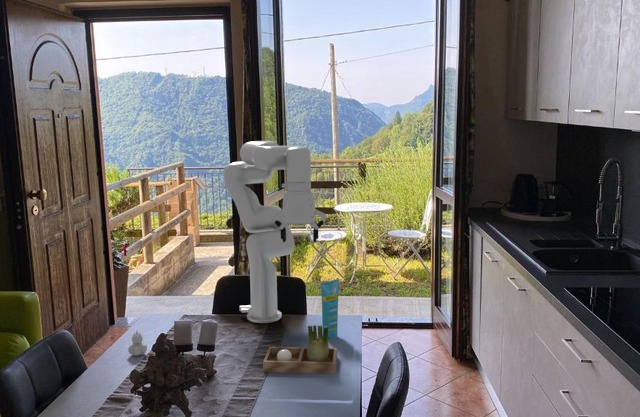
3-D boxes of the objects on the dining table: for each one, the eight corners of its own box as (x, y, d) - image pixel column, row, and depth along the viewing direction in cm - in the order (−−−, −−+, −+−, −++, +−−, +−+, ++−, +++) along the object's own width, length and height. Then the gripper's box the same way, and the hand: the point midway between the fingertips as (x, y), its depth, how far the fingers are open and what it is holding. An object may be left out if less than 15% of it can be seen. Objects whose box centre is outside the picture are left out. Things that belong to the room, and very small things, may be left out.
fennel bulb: (330, 364, 161) (330, 324, 159) (320, 370, 157) (320, 330, 155) (314, 359, 164) (313, 320, 163) (304, 365, 160) (303, 325, 159)
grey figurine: (148, 350, 174) (146, 326, 173) (146, 359, 167) (144, 334, 166) (130, 352, 173) (128, 327, 172) (127, 360, 166) (125, 335, 165)
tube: (327, 342, 179) (326, 284, 176) (317, 337, 182) (316, 281, 179) (343, 335, 184) (343, 279, 181) (332, 331, 187) (332, 276, 184)
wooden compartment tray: (263, 373, 157) (263, 361, 156) (269, 357, 167) (269, 346, 167) (335, 375, 155) (335, 363, 155) (337, 359, 166) (337, 348, 165)
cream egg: (275, 367, 159) (275, 352, 159) (278, 360, 164) (277, 346, 163) (291, 367, 159) (290, 353, 158) (293, 361, 163) (292, 346, 163)
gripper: (269, 188, 168) (270, 243, 171) (325, 188, 167) (326, 244, 169) (273, 185, 176) (274, 238, 178) (327, 185, 174) (327, 239, 177)
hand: (299, 241), depth 174 cm, fingers open, 9 cm apart
